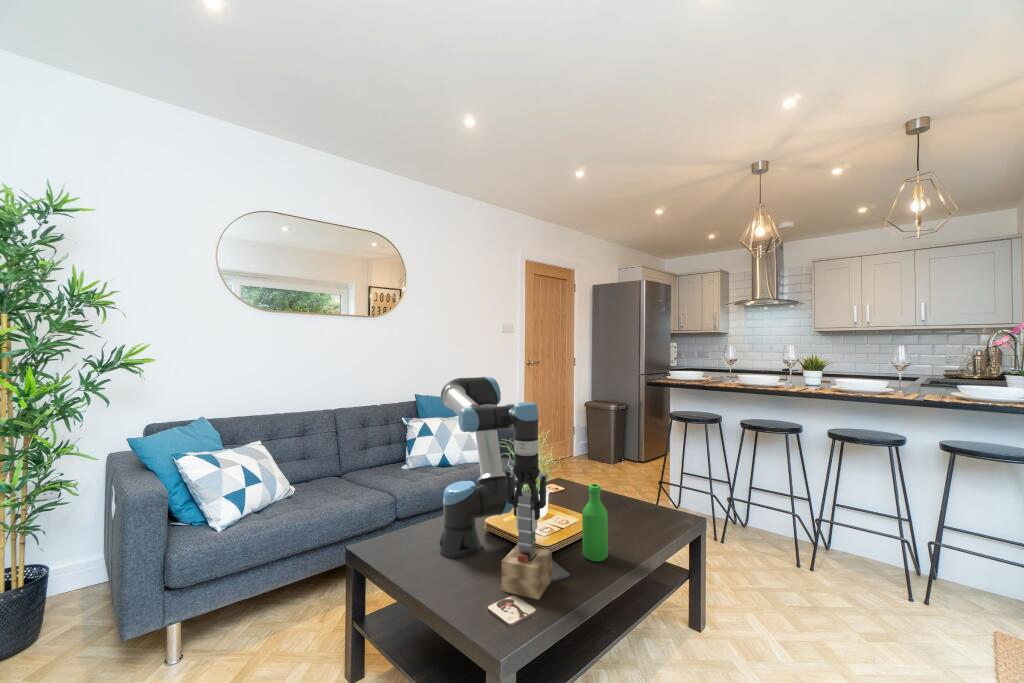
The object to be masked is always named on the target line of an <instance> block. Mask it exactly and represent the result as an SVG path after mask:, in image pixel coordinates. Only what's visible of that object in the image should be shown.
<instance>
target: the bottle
mask: <svg viewBox="0 0 1024 683" xmlns="http://www.w3.org/2000/svg"><path fill="white" fill-rule="evenodd" d="M588 491H589V494H588V495H589V497H588V499H589V500H588V501H587V503H586V504H585V506H584V507H583V508H582V510H581V511H582V513H581V517H582V518H581V520H582V521H581V522H582V523H581V524H582V530H581V531H582V555H583V557H584V558H586V560H588V561H591V562H603V561H605V560H606V559H607V558H608V557H609V537H608V536H609V535H608V534H609V526H608V525H609V523H608V521H609V520H608V519H609V517H608V513H609V512H608V510H607V508H606V507H605V506H604V505H603V503H602V501H601V491H602V489H601V486H600V485H599V484H597V483H591V484H590V485H588Z"/></svg>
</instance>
